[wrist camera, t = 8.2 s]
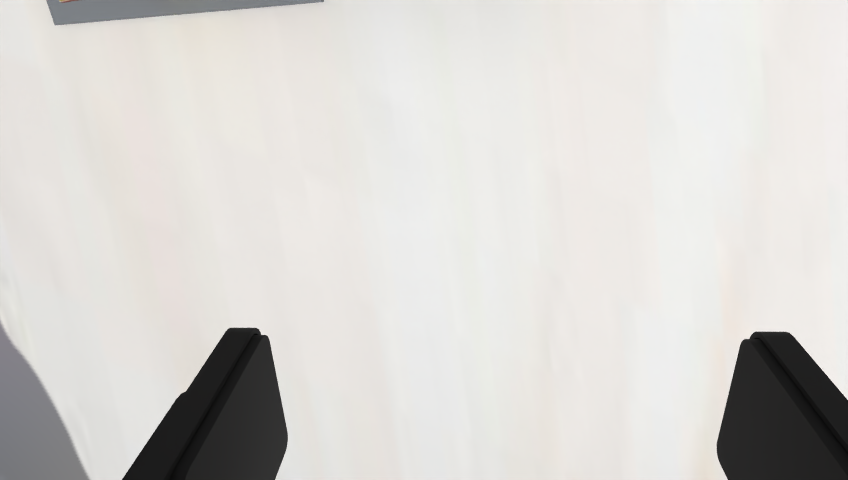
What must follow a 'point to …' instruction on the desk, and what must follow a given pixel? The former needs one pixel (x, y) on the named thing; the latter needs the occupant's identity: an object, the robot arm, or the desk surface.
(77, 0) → the candy box
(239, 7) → the mat
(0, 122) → the desk surface
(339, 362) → the desk surface
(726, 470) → the robot arm
